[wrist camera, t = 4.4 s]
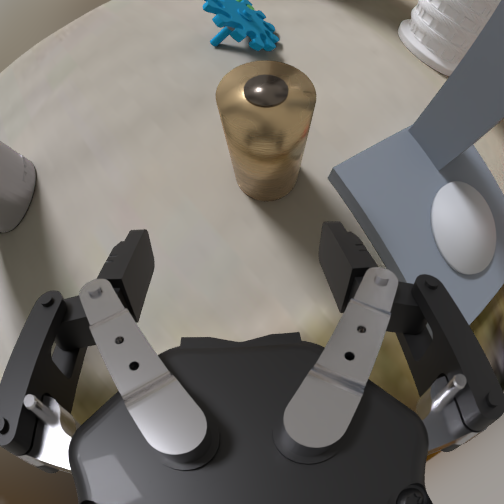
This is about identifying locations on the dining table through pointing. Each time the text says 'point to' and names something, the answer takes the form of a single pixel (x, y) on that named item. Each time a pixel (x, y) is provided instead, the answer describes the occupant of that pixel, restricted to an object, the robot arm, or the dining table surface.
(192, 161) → the dining table surface
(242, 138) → the disc
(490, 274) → the press
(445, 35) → the decorative container
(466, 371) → the robot arm
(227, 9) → the gear
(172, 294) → the dining table surface
